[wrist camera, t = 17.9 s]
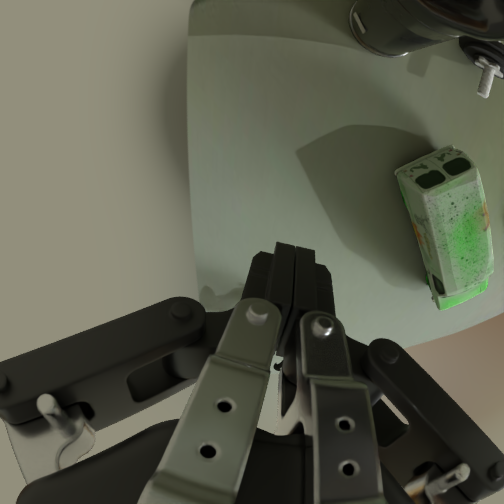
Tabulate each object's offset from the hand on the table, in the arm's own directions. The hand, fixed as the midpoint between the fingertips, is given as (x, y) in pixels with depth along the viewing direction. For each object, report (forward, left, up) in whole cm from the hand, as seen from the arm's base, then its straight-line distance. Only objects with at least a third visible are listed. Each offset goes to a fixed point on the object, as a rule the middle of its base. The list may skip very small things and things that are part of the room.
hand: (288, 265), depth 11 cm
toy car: (+5, +25, -29) cm, 39 cm away
